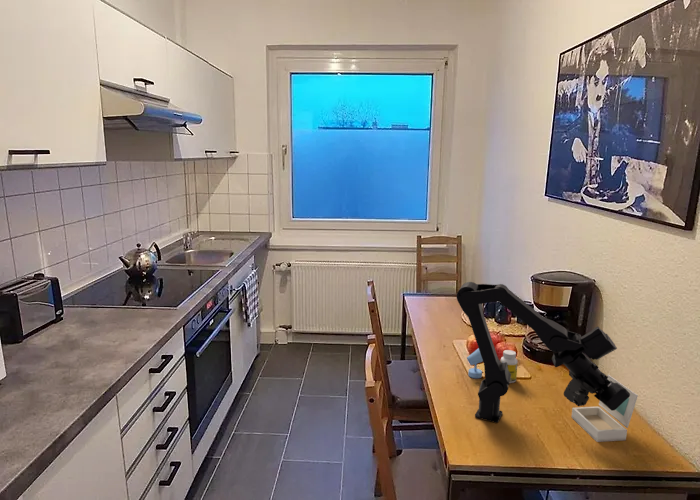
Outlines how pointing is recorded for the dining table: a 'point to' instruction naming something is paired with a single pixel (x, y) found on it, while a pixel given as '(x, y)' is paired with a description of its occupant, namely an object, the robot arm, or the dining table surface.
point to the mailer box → (599, 424)
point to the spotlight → (475, 364)
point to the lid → (622, 406)
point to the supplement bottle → (510, 363)
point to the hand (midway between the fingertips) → (615, 402)
